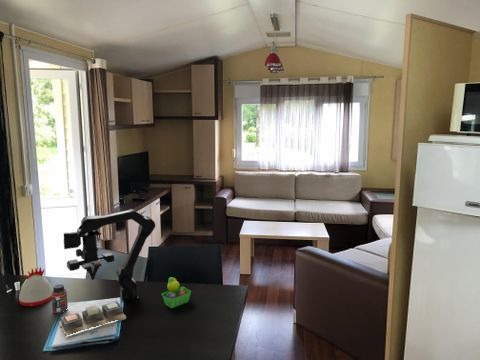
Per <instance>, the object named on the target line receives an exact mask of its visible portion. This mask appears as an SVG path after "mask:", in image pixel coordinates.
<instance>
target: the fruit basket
mask: <svg viewBox="0 0 480 360" xmlns="http://www.w3.org/2000/svg"><path fill="white" fill-rule="evenodd" d="M166 286H167V287H166V288H167V291H164V292H162V293H161V296H162V298H163V301H164V305H166V306H167V307H168V308H170V309H173V308H177V307H179V306H181V305H182V306H183V305H184V304H187V303H189V300H190V297H191V294H192V291H191V290H190V289H187V288H186V287H185V286H181V285H180V282H179V281H177V279H176V278H175V277H172V276H170V277H169V278H168V282H167V285H166Z"/></svg>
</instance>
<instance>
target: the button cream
mask: <svg viewBox="0 0 480 360" xmlns="http://www.w3.org/2000/svg"><path fill="white" fill-rule="evenodd" d="M98 307H99V306H97V305H96V304H95V305H91V306H88V307H86V308H85V310H86V314H87V315H88V316H91V315H94V314H97V313H99V308H100V307H99V308H98Z"/></svg>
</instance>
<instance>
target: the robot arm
mask: <svg viewBox="0 0 480 360" xmlns="http://www.w3.org/2000/svg"><path fill="white" fill-rule="evenodd" d="M129 220H132V221H133V222H136V223H137V224H138V230H137V236H136V237H135V239H134V242H133V244H132V246H131V248H130V251H129V253H128V255H127V257H126V259H125V262H124V263H123V264H118V267H117V270H116V271H115V276H116V277H115V278H116V279H117V282H118V284H119V285H120V290H119V293H120V294H119V296H120V299H121V301H123V300H124V301H123V302H124V303H129V302H132V301H136V300H139V298H140V297H139V296H138V289H137V285H138V284H137V282H136V280H135V278H134V276H133V275H134V270H135V269H134V268H135V265H136V263H137V261H138V258H139V256H140V254H141V252H142V249H143V247H144V245H145V243H146V240H147V238H148V237H149V236H150V235H151V234H152V233H153V231H154V230H155V229H156V222H155V220H153V219H152V217H150V216H146V215H145V216H144V215H143V214H141V213H140V212H138V211H136V210H135V209H134V208H129V209H128V210H124V211H123V210H122V211H117V212H114V213H109V214H106V215H87V216H84V217H83V218H82V219H81V220H80V226H79V227H78V228H77V230H76V231H73V232H64V233H63V249H64V250H69V249H76V248H77V249H76V250H75V256H76V257H77V258H79V257H80V258H81V259H82V260H80V261H79V260H78V259H76V258H75V259H70V260H68V261H67V262H66V267H67V269H68V270H69V271H77V270H79V269H80V268H82V269H83V270H86V272H87V274H88V276H89V277H90V280H91V281H94V280H95V277H96V275H97V272H98V270H99V269H100V267H102V263H101V262H103V261H105V262H106V263H113V262H115V255H114V254H113V253H112V252H110V251H108V252H104V253H101V256H99V254H98V252H99V249H98V239H97V236H101V235H102V232H101V231H99V229H100V228H102V227H105V226H108V225H112V224H116V223H117V224H118V223H122V222H125V221H129ZM81 245H82V249H81V248H79V247H80V246H81Z"/></svg>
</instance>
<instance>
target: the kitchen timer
mask: <svg viewBox="0 0 480 360" xmlns="http://www.w3.org/2000/svg"><path fill="white" fill-rule="evenodd" d="M27 273H28V275H26V274H24V277H25V278H26V279H25V281H24V282H23V284H22V285H21V287H20V291H19V295H18V300H19V304H20V305H21V306H25V307H34V306H38V305H39V306H40V305H43V304H45V303H47V302H49V301H52V296H51V293H52V291H54V290H53V289H54V288H53V287H52V285H51V283H50V282H51V280H49V279H47V278H46V277H45V276H44V273H45V268H43V270H42V267H41V266H39V268H38V269H37V267H35V270H34V269H33V268H31V272H30V271H29V270H28V271H27Z"/></svg>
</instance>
